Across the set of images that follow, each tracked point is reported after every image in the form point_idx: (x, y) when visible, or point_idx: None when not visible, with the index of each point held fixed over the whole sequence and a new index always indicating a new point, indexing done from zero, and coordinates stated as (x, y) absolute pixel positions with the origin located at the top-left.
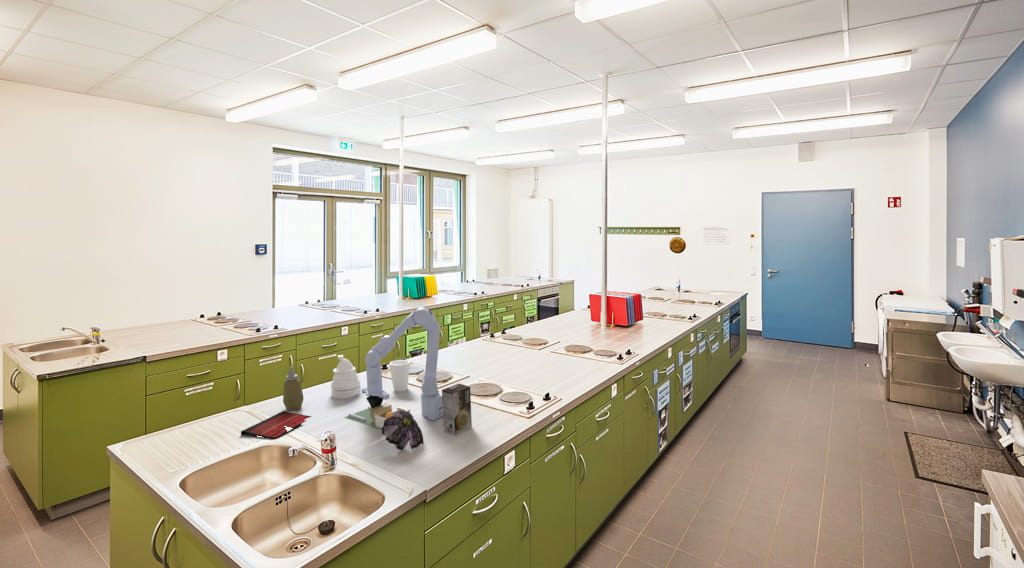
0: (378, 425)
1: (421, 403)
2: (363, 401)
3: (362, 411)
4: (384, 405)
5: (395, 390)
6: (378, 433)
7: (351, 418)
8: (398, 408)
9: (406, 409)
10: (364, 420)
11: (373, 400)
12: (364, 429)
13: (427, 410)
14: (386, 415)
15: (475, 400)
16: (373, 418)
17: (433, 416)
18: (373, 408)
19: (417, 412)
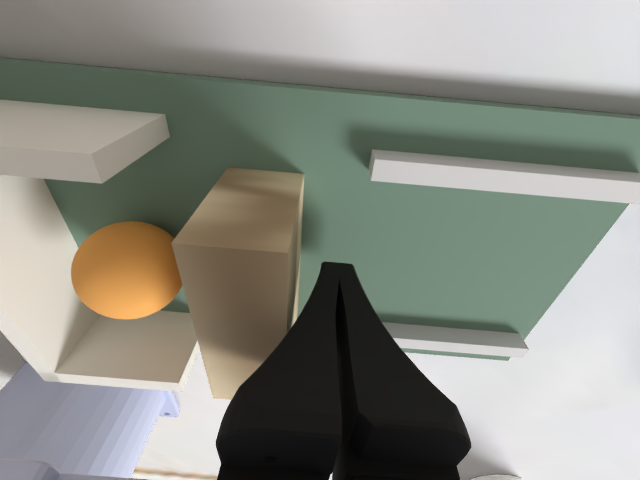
0: (104, 113)
1: (84, 448)
2: (630, 390)
3: (540, 292)
4: (247, 371)
5: (508, 477)
6: (7, 8)
7: (570, 142)
8: (165, 373)
9: (66, 377)
10: (371, 153)
11: (240, 405)
12: (237, 11)
13: (49, 403)
14: (106, 255)
15: (144, 477)
16: (251, 188)
17: (29, 372)
18: (273, 285)
19: (208, 382)
